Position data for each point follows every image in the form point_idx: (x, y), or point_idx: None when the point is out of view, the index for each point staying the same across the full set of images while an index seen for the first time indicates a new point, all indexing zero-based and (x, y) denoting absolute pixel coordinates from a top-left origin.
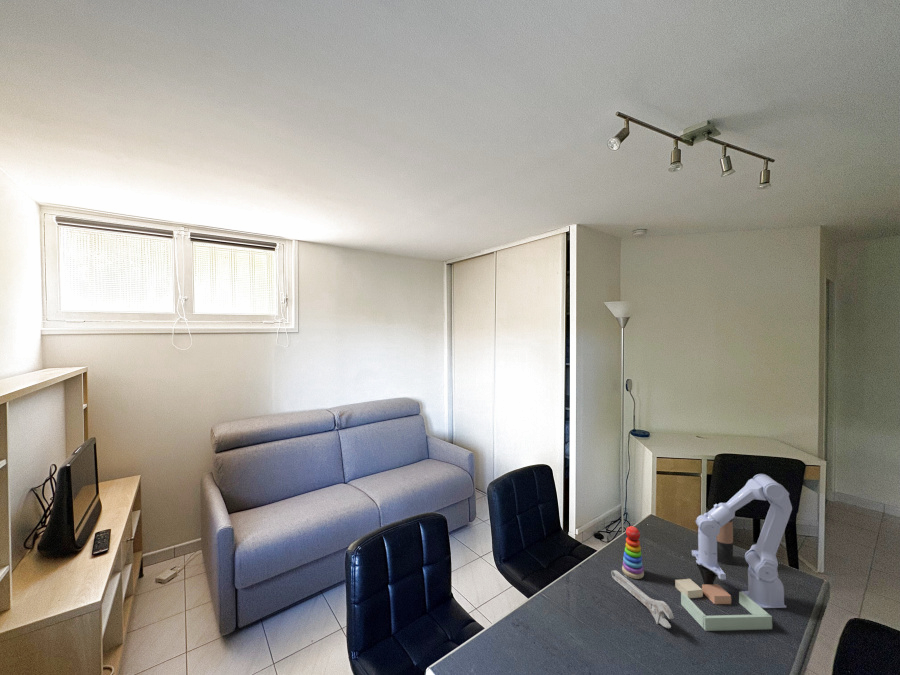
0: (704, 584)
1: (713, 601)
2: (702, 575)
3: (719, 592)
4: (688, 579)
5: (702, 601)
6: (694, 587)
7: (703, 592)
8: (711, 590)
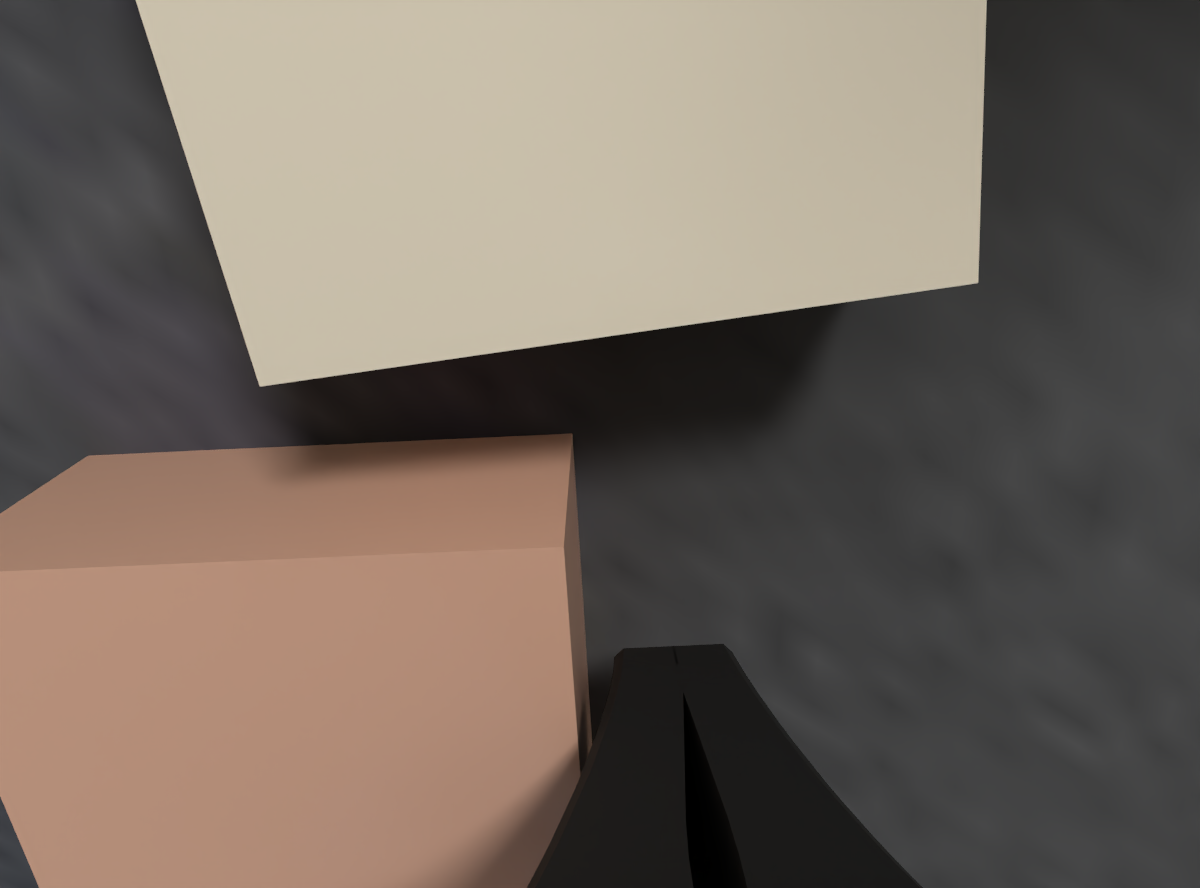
0: (567, 632)
1: (91, 473)
2: (796, 868)
3: (181, 831)
4: (931, 184)
5: (127, 169)
6: (348, 95)
7: (514, 447)
8: (233, 663)
